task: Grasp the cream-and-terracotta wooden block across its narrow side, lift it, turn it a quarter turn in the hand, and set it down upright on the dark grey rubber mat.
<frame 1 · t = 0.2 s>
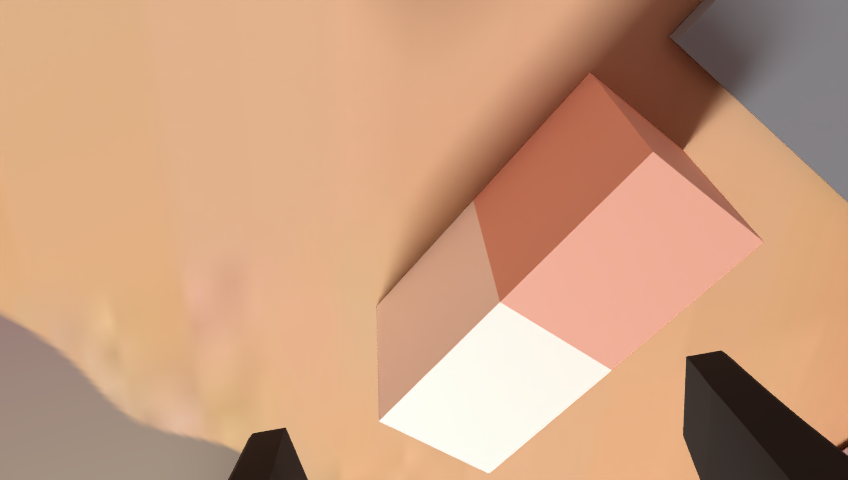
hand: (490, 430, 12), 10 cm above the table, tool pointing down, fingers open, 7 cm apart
two-tone block: (521, 232, 22), on the table
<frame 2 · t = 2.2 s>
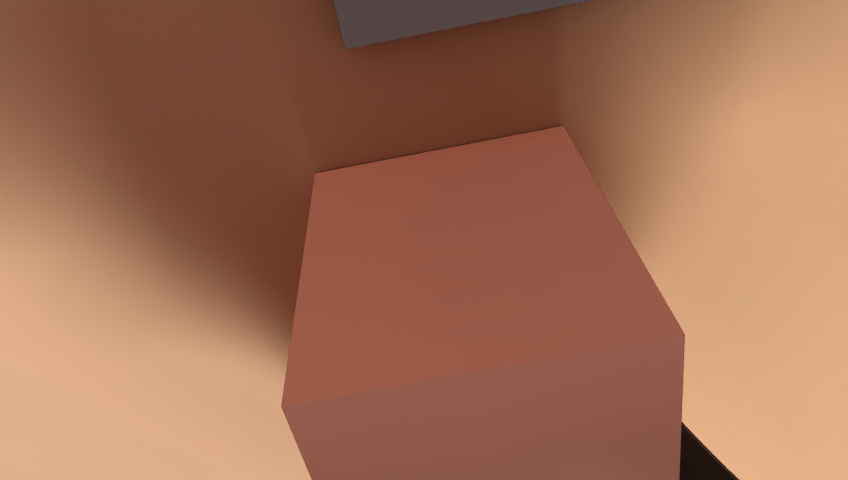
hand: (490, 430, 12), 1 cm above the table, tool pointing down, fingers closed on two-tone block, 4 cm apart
two-tone block: (479, 375, 14), on the table, touching gripper
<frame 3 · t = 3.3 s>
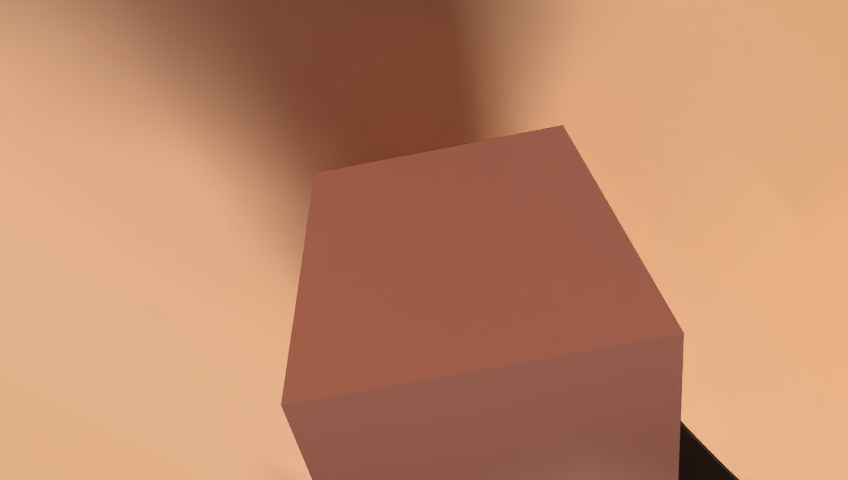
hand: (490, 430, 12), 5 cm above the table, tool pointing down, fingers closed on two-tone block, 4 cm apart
two-tone block: (479, 374, 14), point 4 cm above the table, touching gripper
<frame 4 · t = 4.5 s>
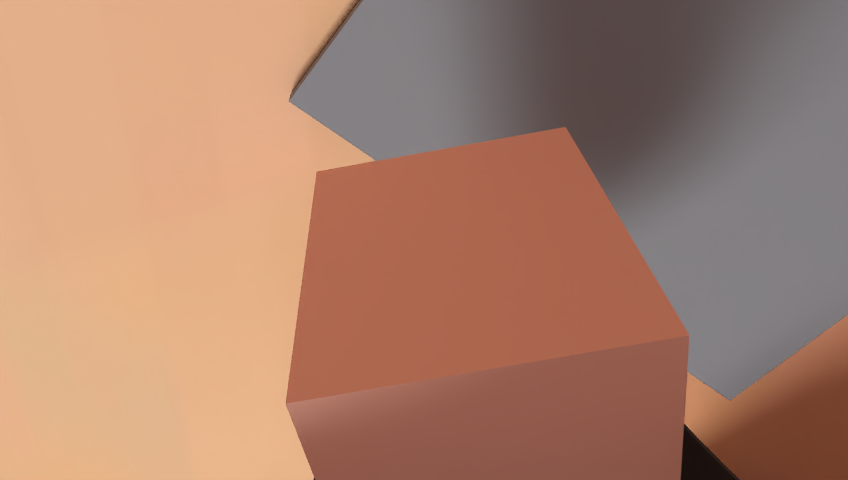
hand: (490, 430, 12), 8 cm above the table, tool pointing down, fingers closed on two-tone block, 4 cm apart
two-tone block: (478, 375, 14), point 7 cm above the table, touching gripper
mat: (712, 105, 18), on the table
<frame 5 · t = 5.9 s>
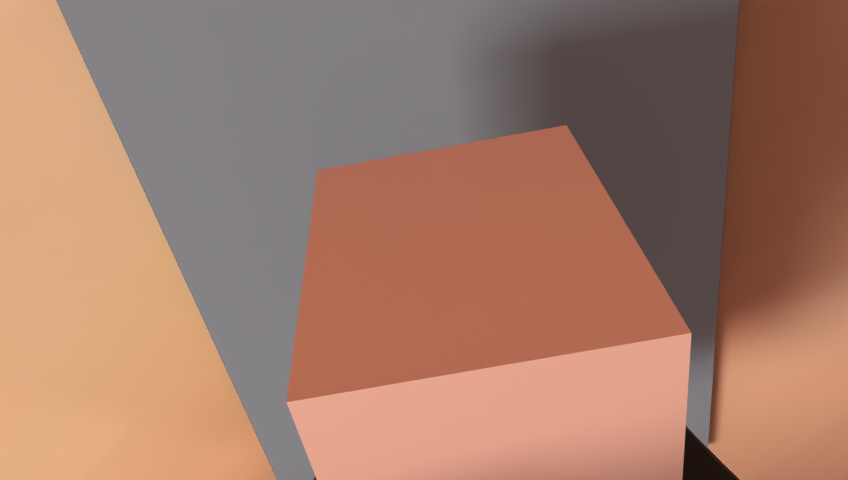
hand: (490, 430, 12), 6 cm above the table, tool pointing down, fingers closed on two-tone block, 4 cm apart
two-tone block: (479, 374, 14), point 4 cm above the table, touching gripper
mat: (456, 254, 17), on the table
when the fingers open (3 cm above the table, at t = 6.8 s): two-tone block drops 1 cm, resting on mat.
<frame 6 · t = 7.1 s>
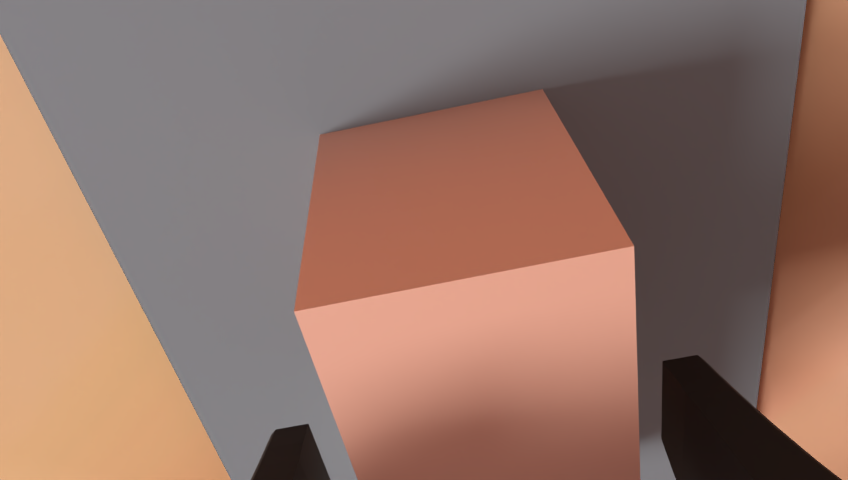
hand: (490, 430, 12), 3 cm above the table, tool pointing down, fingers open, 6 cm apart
two-tone block: (472, 325, 15), resting on mat
mat: (468, 312, 15), on the table
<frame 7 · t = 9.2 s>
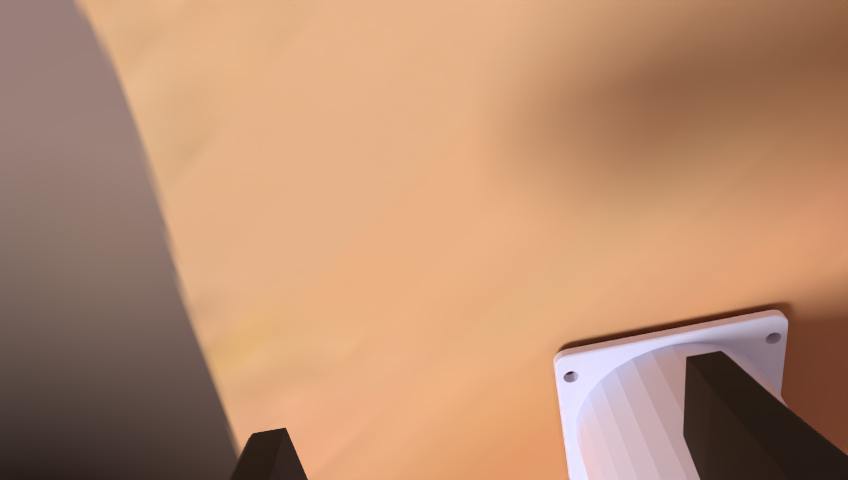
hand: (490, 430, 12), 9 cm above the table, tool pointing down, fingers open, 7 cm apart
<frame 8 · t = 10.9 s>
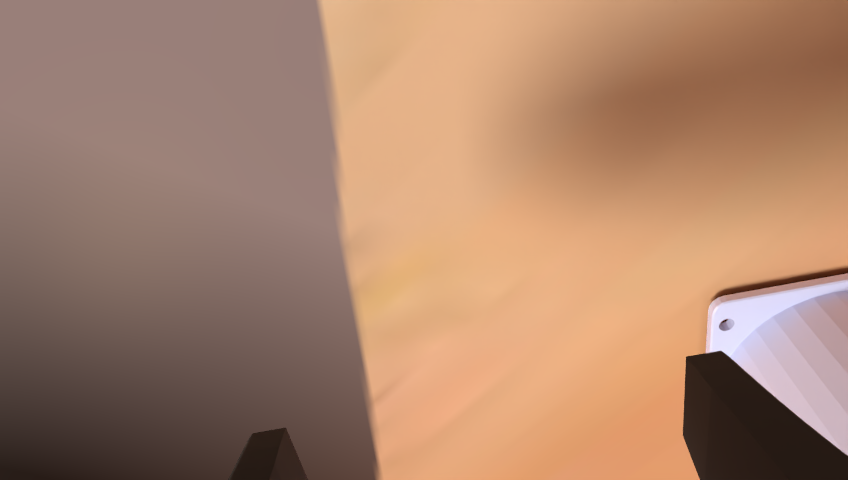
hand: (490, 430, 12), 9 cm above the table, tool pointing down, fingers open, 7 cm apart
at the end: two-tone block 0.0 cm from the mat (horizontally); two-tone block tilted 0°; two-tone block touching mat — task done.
